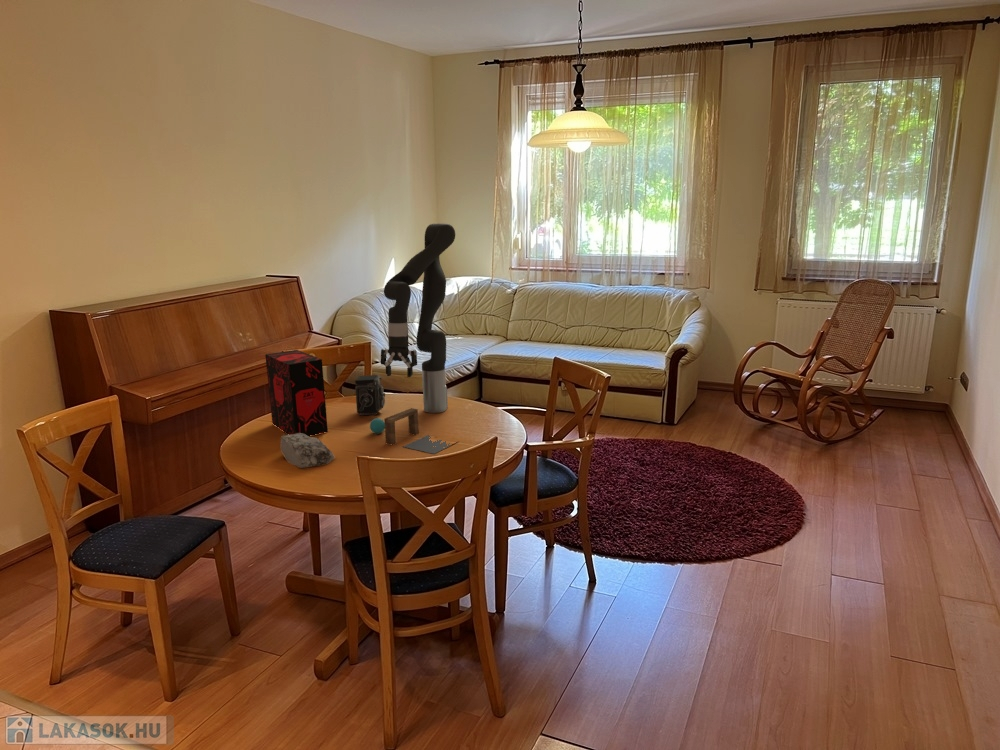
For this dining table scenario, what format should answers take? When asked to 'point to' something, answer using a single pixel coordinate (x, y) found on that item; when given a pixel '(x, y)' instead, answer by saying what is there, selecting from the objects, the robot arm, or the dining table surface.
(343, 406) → the dining table surface
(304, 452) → the decorative stone
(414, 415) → the bridge
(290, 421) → the box
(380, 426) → the ball
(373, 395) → the camera
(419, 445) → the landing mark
